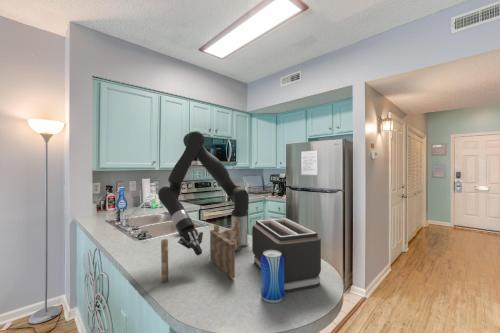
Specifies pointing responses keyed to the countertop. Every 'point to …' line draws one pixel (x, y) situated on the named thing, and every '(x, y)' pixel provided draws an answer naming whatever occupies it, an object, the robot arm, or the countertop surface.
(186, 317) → the countertop surface
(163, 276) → the fence
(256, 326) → the countertop surface
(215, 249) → the gate
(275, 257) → the beer can
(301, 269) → the toaster
